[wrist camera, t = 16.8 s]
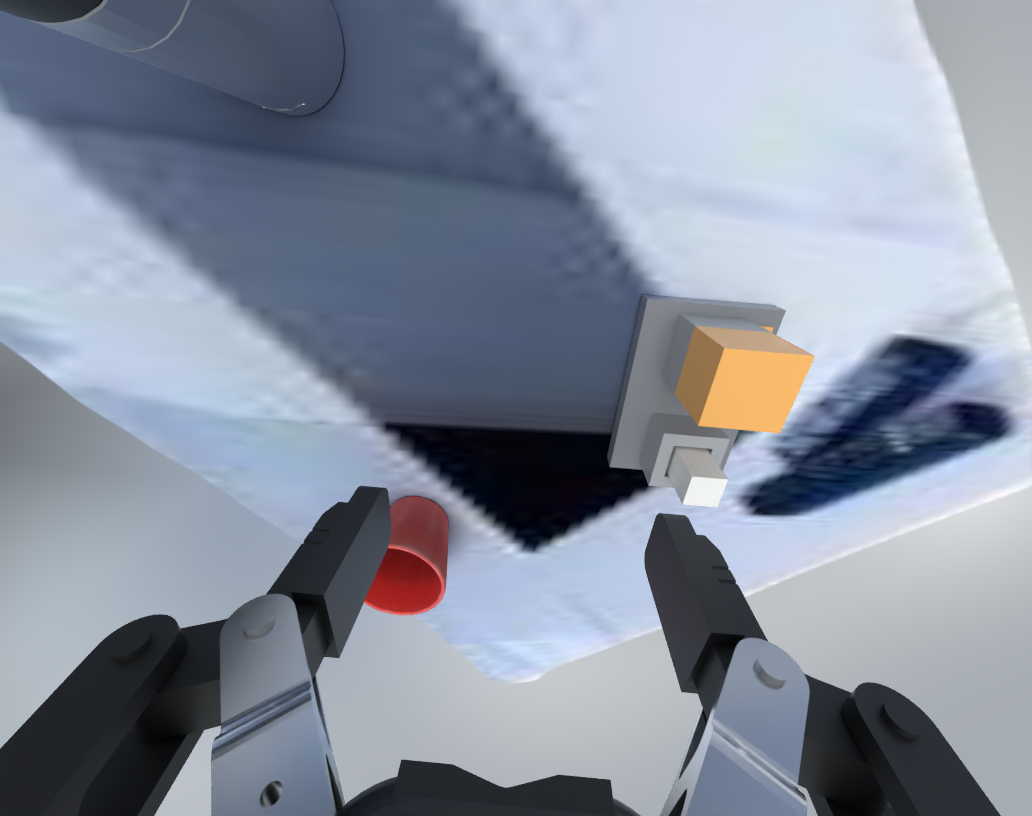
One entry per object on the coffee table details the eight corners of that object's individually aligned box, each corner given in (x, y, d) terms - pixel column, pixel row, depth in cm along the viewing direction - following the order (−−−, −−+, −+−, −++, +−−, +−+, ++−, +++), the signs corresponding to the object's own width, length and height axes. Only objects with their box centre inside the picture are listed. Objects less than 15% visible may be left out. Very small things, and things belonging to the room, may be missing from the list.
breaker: (671, 441, 37) (692, 476, 32) (703, 443, 37) (728, 479, 32) (664, 466, 38) (682, 504, 34) (694, 469, 38) (717, 507, 33)
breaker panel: (642, 294, 35) (660, 309, 30) (773, 305, 35) (814, 322, 30) (606, 456, 44) (616, 490, 38) (712, 465, 44) (737, 501, 38)
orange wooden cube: (694, 325, 31) (724, 348, 26) (770, 332, 31) (814, 356, 26) (674, 393, 33) (698, 425, 28) (744, 400, 33) (779, 433, 28)
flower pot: (445, 478, 46) (425, 540, 38) (470, 543, 51) (456, 611, 43) (364, 490, 48) (326, 552, 39) (395, 553, 53) (368, 620, 44)
